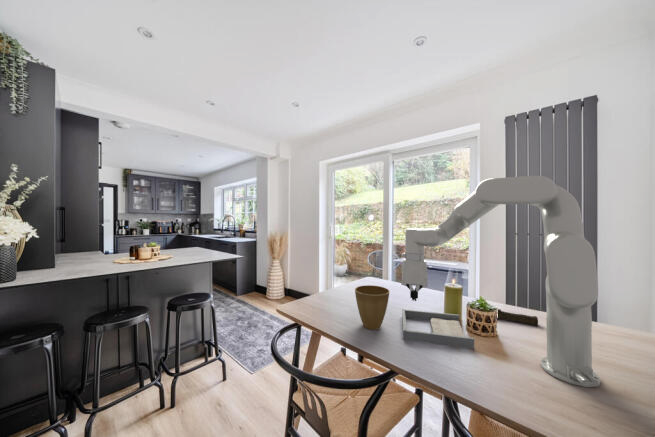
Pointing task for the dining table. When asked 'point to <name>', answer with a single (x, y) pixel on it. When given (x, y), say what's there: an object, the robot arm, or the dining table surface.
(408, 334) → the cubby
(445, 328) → the washcloth
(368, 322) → the plant pot
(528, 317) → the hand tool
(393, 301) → the dining table surface
